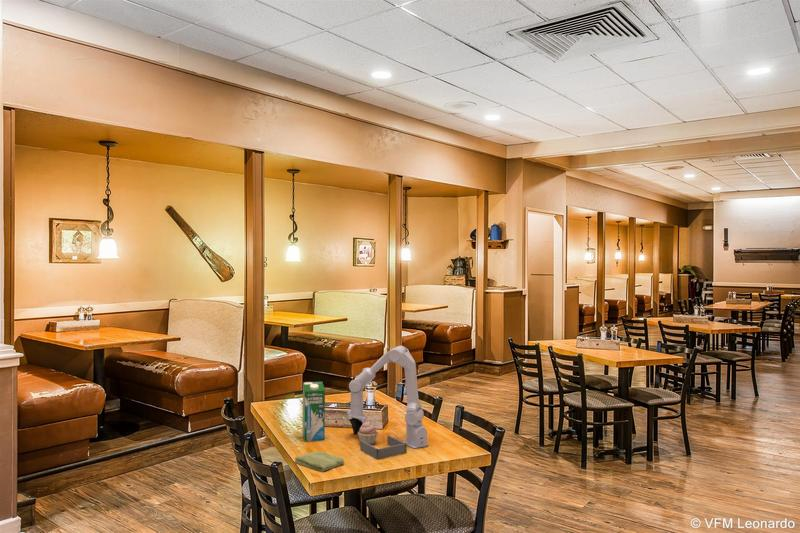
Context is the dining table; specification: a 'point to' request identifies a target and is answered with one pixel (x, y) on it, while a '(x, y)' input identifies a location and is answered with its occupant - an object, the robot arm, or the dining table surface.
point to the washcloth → (319, 461)
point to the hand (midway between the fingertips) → (356, 434)
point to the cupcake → (367, 433)
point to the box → (393, 449)
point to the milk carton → (313, 411)
